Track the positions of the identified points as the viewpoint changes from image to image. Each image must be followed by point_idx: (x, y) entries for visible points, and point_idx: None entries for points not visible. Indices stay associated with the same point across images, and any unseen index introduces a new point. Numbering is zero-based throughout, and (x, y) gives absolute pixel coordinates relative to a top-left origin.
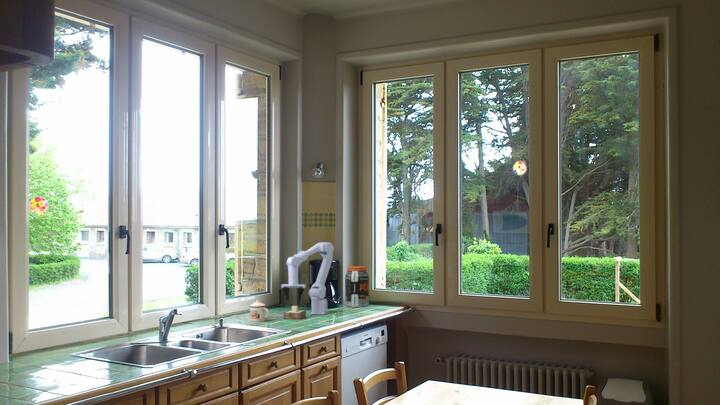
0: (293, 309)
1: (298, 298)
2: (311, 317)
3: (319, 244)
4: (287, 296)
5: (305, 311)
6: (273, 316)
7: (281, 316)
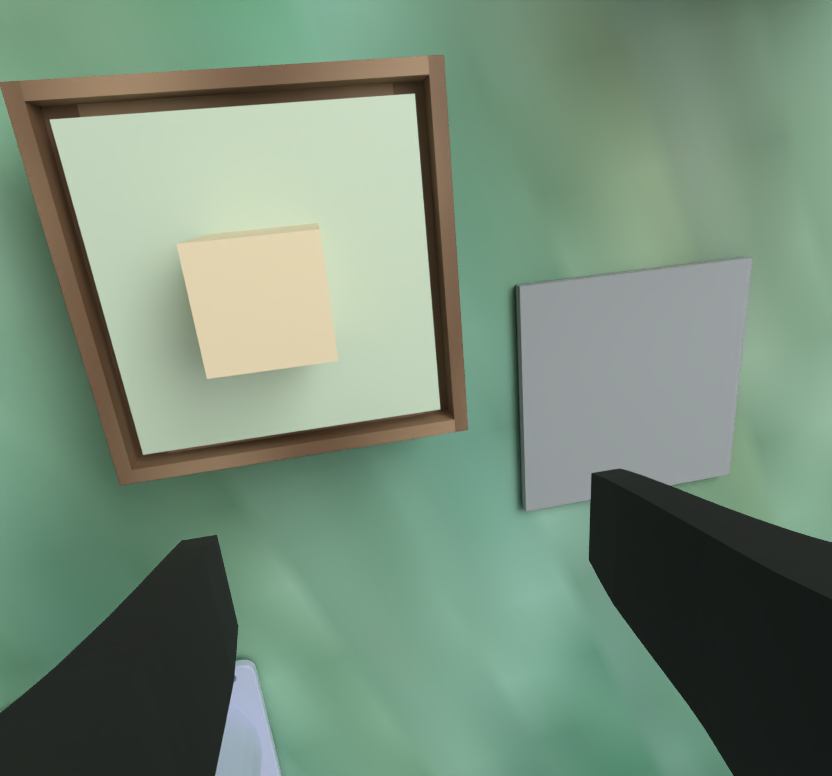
0: (271, 230)
1: (197, 560)
2: (23, 419)
3: None
4: (658, 548)
5: (119, 459)
6: (683, 273)
7: (558, 308)
